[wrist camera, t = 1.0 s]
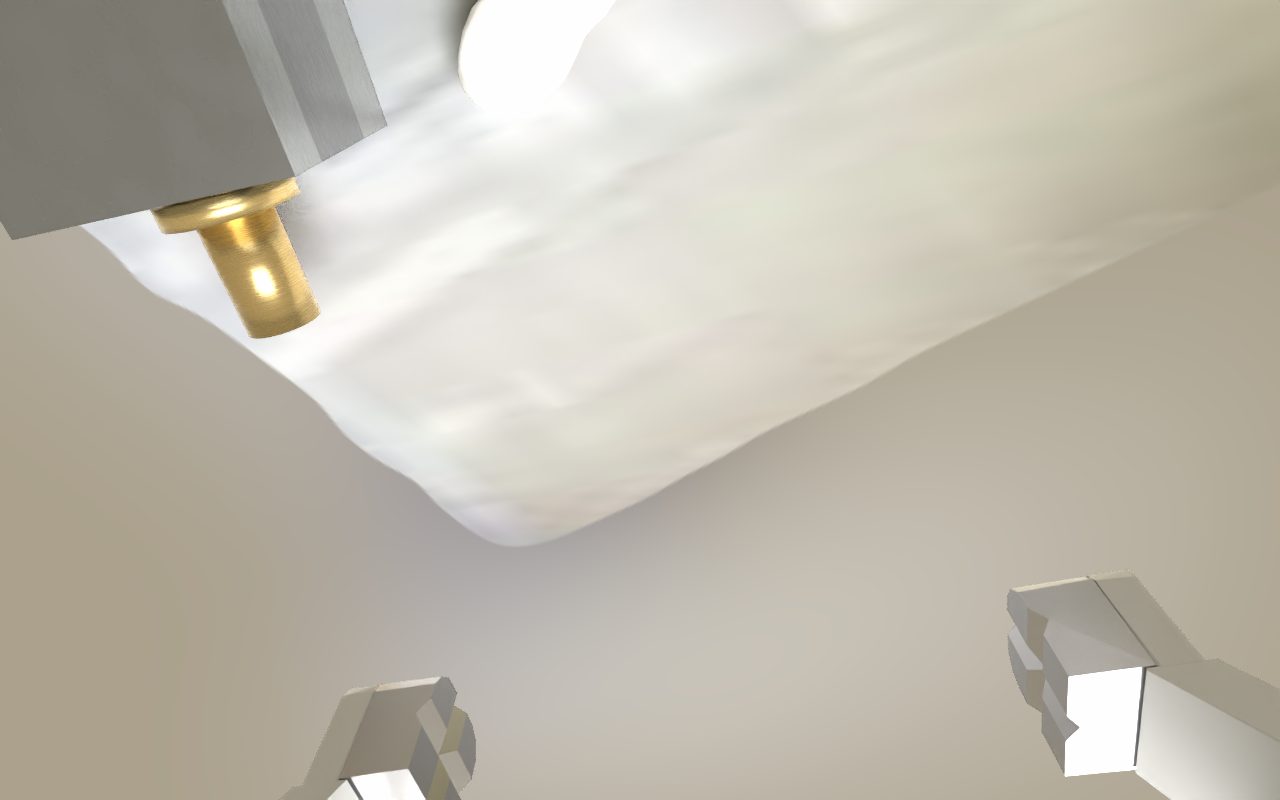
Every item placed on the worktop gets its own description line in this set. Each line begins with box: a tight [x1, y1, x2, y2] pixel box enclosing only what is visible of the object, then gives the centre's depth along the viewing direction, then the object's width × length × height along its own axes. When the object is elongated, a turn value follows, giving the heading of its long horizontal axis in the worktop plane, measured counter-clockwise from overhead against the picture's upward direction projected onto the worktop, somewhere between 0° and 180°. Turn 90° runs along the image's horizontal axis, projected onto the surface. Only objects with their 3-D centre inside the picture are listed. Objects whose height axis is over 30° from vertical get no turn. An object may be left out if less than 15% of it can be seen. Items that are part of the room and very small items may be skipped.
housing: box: [0, 0, 387, 240], centre depth 37 cm, size 12×14×13 cm
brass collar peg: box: [150, 177, 321, 338], centre depth 40 cm, size 15×7×7 cm, turn 12°
